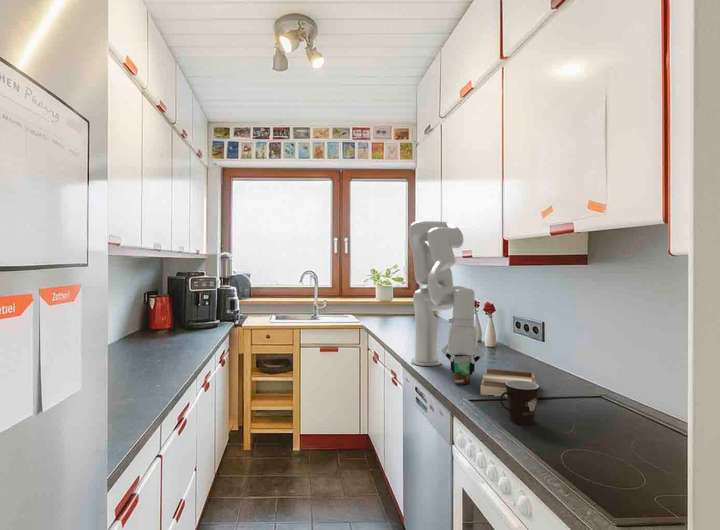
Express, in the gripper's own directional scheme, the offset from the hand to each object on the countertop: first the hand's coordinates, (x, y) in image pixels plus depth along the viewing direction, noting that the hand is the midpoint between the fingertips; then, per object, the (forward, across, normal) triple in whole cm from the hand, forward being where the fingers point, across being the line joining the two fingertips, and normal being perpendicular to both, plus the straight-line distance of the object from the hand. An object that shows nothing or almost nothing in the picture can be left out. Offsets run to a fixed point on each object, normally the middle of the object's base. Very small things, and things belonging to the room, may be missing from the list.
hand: (462, 372), depth 163 cm
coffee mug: (+3, +18, -34) cm, 39 cm away
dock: (+3, +16, -4) cm, 17 cm away
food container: (+3, +1, 0) cm, 3 cm away
